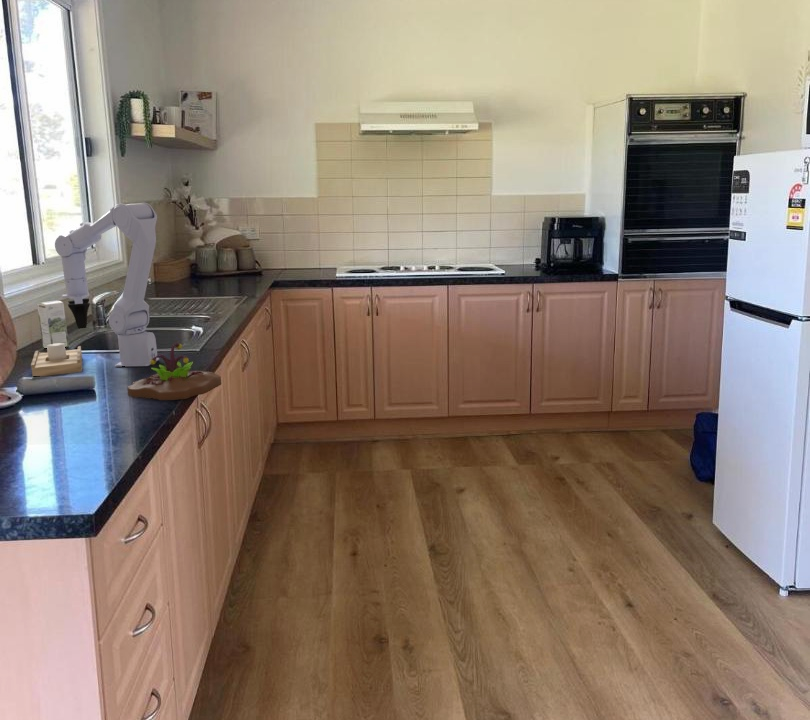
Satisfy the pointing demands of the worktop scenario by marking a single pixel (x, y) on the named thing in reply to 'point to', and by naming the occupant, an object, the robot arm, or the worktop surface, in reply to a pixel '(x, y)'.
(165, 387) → the plant
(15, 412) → the worktop surface
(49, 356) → the cream small block
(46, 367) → the jig plate
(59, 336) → the syrup box
